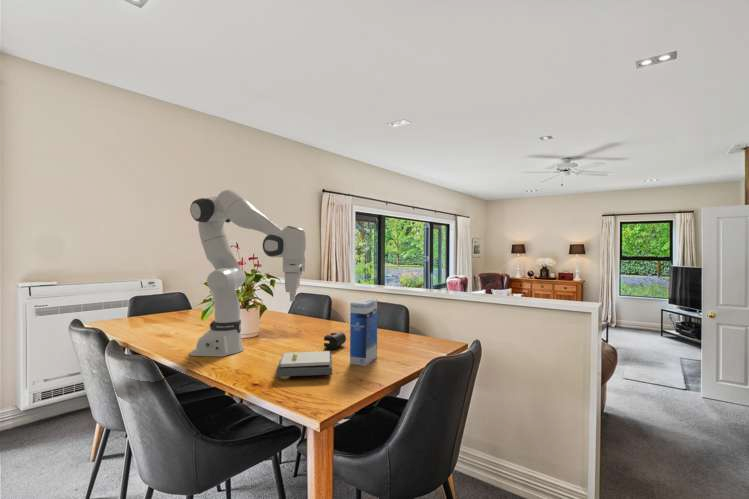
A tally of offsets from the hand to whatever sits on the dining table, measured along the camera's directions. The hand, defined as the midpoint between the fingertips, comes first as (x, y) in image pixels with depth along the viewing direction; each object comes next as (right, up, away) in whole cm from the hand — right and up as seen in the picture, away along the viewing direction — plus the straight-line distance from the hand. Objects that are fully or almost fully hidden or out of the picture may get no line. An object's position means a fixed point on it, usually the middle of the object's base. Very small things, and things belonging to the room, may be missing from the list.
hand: (292, 300), depth 148 cm
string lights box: (+29, -27, +10) cm, 41 cm away
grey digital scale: (+6, -27, -5) cm, 28 cm away
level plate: (+6, -22, -5) cm, 24 cm away
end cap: (+14, -27, +30) cm, 43 cm away
